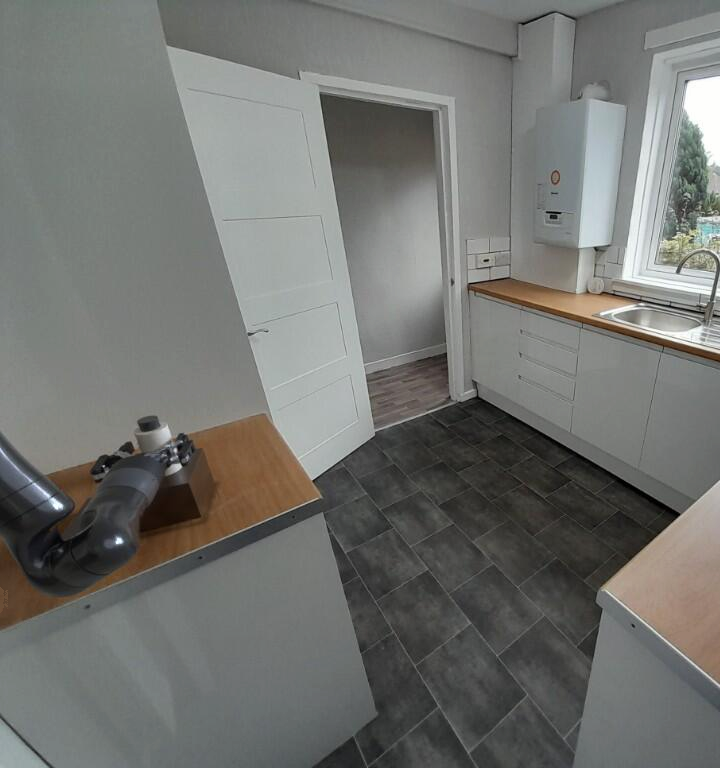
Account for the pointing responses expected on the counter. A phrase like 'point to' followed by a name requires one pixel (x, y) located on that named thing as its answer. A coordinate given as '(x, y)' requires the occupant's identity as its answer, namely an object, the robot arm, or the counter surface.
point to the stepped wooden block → (171, 497)
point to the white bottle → (154, 438)
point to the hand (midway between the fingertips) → (157, 441)
